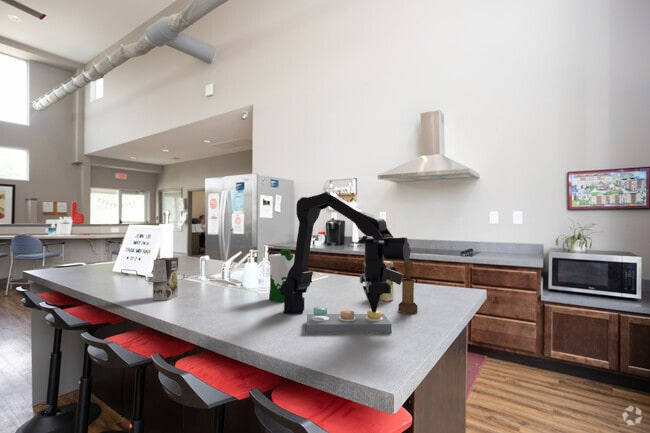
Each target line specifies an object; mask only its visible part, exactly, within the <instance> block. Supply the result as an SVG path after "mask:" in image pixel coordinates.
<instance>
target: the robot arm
mask: <svg viewBox="0 0 650 433" xmlns="http://www.w3.org/2000/svg"><path fill="white" fill-rule="evenodd" d="M329 207H330V208H331V209H332V210H334V211H336V212H337V213H339V214H340V215H342V216H344V217H345V218H347V219H348V220H350V221H351V222H352V223H354V224H355V226H356V228H357V229H358V230H359V231H360V232H361V233H362V234H363V236H362V237H361V238H360V239H359V240H358V241H357V243H358V244H359V245H360V244H362V245H363V244H364V261H363V266H364V273H363V272H362V273H361V275H360V276H359V283H360V284H363V283H365V286H364V285H362V289H363V291H364V294H365V298H366V299H367V302H368V305H369V307H370V310H372V312H376V310H378V306H379V302H380V300H381V299H380V296H381V295H382V294H390V293H391V286H390V285H389V284H388V283H387V280H389V281H392V282H393V283H395V284H396V285H398V286H401V284H402V279H404V277H405V274H403V273H402V272H399V271H397V267H395V266H393V267H392V266H390V267H389V268H386V264H385V263H384V261H385V259H386V261H390V262H393V261H394V262H404V261H405V262H407V261H408V260H410V257H411V247H410V244H409V242H408V237H406V236H405V237H394V236H393V234H392V233H391V232H390V230H389V229H388V226H387V222H386V220H385V219H384V218H382V217H379V216H377V215H374V214H372V213H368V212H365V211H363V210H361V209H359V208H358V207H356V206H354V205H353V204H352V203H350V202H348V201H346V200H345V199H343V198H342V197H340V196H339V195H337V194H336V192H330V191H325V192H322V193H320V194H319V193H318V194H316V195H311V196H308V197H307V196H304V197H303V196H302V197H300V198H299V199H298V200H297V202H296V218H297V220H298V230H297V236H296V243H295V244H296V245H295V250H294V255H295V257H294V263H293V266H292V267H291V269H290V270H289V272H288V275H287V278H286V282H285V283H284V284H283V285H282V287H281V288H280V289H279V290H280V294H281V295H284V302H283V314H285V315H286V314H289V315H292V314H293V315H294V314H296V315H297V314H299V315H300V314H301V315H302V314H303V312H304V311H305V297H304V293H305V294H306V293H307V290H308V288H309V287H310V285H311V283H313V278H312V277H313V274H314V272H313V270H310V268H309V260H310V259H309V258H310V252H311V245H312V238H313V231H314V225H315V223H316V222H317V220H318V218H319V217H320V214H321V211H322V210H325V209H327V208H329ZM381 241H382V242H381Z"/></svg>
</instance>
